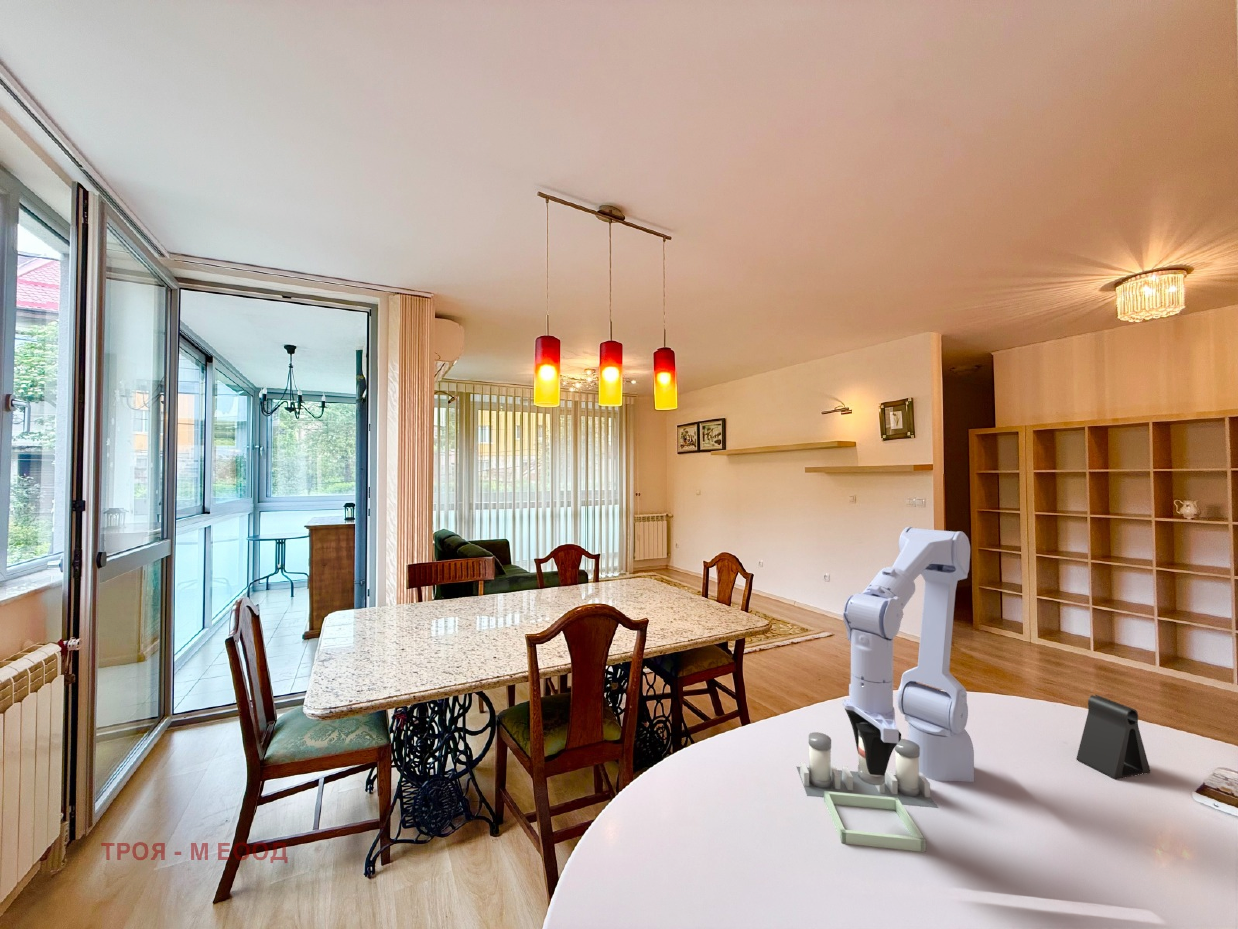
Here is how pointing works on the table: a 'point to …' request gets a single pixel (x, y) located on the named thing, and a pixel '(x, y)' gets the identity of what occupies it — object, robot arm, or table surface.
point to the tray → (870, 838)
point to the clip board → (867, 786)
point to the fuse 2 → (907, 767)
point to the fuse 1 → (820, 760)
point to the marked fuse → (862, 766)
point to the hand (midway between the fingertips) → (871, 765)
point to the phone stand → (1112, 740)
